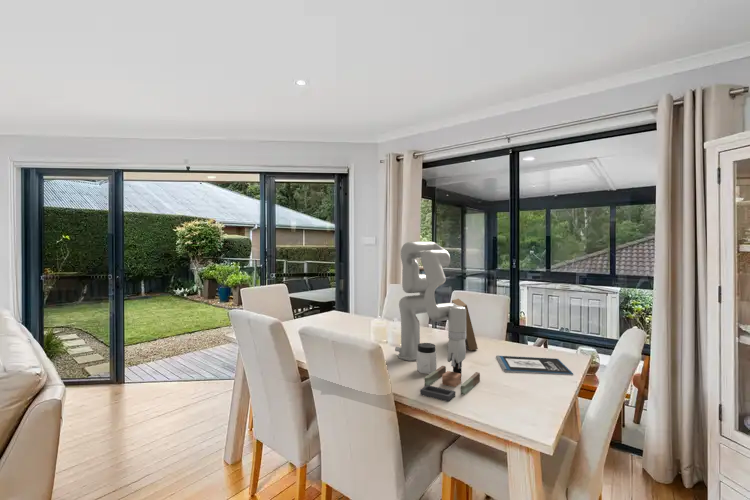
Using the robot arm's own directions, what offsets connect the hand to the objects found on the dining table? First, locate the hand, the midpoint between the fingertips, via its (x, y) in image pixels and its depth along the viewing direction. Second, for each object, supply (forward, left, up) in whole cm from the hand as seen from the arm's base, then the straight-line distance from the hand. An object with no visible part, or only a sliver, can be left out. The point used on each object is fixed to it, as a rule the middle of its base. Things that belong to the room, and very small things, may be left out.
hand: (457, 377), depth 167 cm
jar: (-16, +3, -1) cm, 16 cm away
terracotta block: (0, -5, -1) cm, 5 cm away
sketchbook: (+23, +37, -2) cm, 43 cm away
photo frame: (-19, +52, -1) cm, 55 cm away
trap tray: (0, -20, -1) cm, 20 cm away
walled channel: (0, -5, -1) cm, 5 cm away
